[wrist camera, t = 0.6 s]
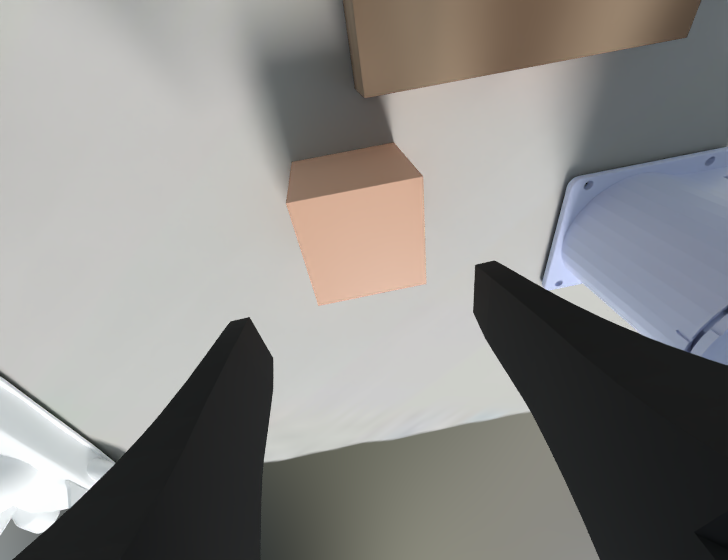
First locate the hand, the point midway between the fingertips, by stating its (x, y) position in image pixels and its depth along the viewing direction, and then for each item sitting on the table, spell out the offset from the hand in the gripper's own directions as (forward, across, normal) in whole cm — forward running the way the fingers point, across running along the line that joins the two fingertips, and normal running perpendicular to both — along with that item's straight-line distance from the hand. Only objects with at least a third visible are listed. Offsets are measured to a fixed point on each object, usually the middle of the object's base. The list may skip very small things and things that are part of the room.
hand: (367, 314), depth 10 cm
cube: (+8, 0, 0) cm, 9 cm away
